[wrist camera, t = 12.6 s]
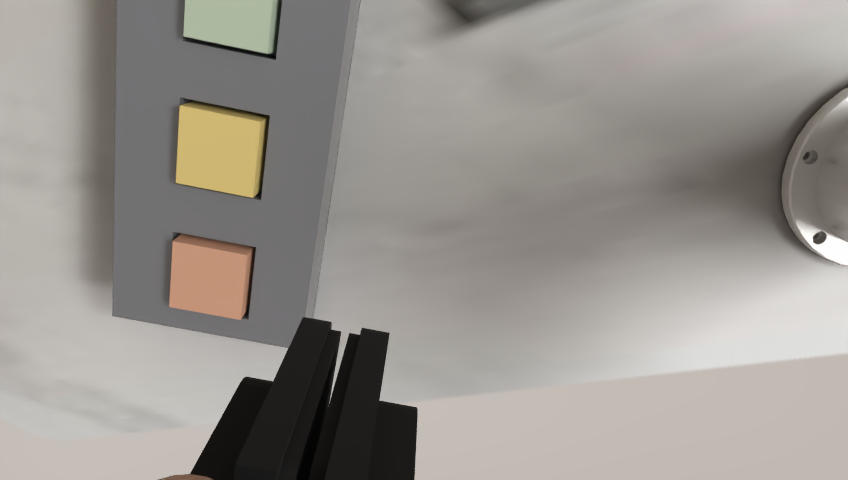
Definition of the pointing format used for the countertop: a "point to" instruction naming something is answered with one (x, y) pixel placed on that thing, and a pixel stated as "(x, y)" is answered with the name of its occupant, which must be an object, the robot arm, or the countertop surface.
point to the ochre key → (221, 148)
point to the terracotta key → (211, 276)
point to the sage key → (235, 23)
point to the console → (213, 210)
